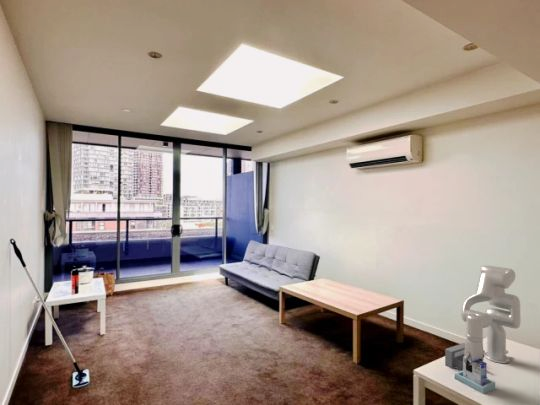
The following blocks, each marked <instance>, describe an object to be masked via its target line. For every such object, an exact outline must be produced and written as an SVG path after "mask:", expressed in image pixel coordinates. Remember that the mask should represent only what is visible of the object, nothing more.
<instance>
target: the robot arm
mask: <svg viewBox="0 0 540 405" xmlns="http://www.w3.org/2000/svg"><path fill="white" fill-rule="evenodd" d="M515 281H516V272H515V271H514V270H513V269H512V268H507V267H502V266H501V267H500V266H495V265H493V266H492V265H482V266H481V267H480V274H479V277H478V280H477V286H476V290H475V292H474V293H473V294H472V295H470V296H469V297H468V298H466V300H465V301H464V303H463V304H462V305H463V306H462V309H461V319H462V321H463V322H464V323H466V324H465V325H466V327H465V330H466V332H465V334H466V336H465V338H466V340H465V354H464V361H465V363H466V370H467V371H469V372H471V373H472V362H473V361H476V360H478V359H479V360H481V361H483V362H484V361H485V359H488V360H489V361H491V362H494V363H498V364H508V363H510V358H509V357H508V356H507V354H509V350H507V332H506V330H505V328H504V327H507V328H510V329H515V330H516V329H519V328H520V326H521V300H520V298H519V297H518V296H517V295H514V294H511V293H506V292H505V289H509V288H510V287H511V285H513V283H514V282H515ZM482 302H488V304H489V305H490V306H492V307H488V308H486V309H485V312H482V311H478V310H473V309H471V307H472V306H473V305H476V304H479V303H482ZM484 328H486V330H487V331H486V332H487V335H486V336H487V337H486V345H487V348H486V349H487V350H486V352H485V350H484V340H483V339H484V335H483V334H484V330H483V329H484ZM469 357H470V358H471V359H470V358H469ZM484 358H485V359H484ZM468 360H471V361H470V362H469V361H468Z"/></svg>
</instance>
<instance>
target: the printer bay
mask: <svg viewBox="0 0 540 405" xmlns="http://www.w3.org/2000/svg"><path fill="white" fill-rule="evenodd" d="M465 343H466V342H465ZM465 343H464V342H463V343H460V344H456V345H454V346H450V347H448V348H445V350H444V353H445V354H444V358H445V361H444V362H445V363H444V365H445V367H448V368H449V369H455V368H456V369H458V370H460V371H462V370H463V357H464V354H465Z"/></svg>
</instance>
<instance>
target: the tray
mask: <svg viewBox="0 0 540 405" xmlns="http://www.w3.org/2000/svg"><path fill="white" fill-rule="evenodd" d="M454 379H455V380H457V381H458V382H460V383H462V384H464V385H465V386H467V387H470V388H471V389H473V390H475V391H477V392H479V393H480V394H483V393H484V394H486V393H488V392H490V391H492V390H494V389H496V381H493V380H491V379H489V378H487V381H486V382H487V385H484V386H480V385H478V384H476V383H475V382H473V381H471V380H469V379H467V378H465V377H463V370H460V371H458V372H455V373H454Z"/></svg>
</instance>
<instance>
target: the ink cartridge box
mask: <svg viewBox="0 0 540 405" xmlns="http://www.w3.org/2000/svg"><path fill="white" fill-rule="evenodd" d="M469 358H470V357H469ZM470 359H471V358H470ZM468 361H469V362H470V361H471V360H468ZM487 364H488V363H487V362H485V361H484V360H483V361H481V360H479V359H478V360H476V361H473V362H472V373H471V372H469V371H467V370H466V363H465V361H464V357H463V377H465V378H467V379H469V380H471V381H473V382H475V383H476V384H478V385H480V386H484V385H487V382H486V381H487V379H488V378H487V377H488V376H487V368H488V365H487Z"/></svg>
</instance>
